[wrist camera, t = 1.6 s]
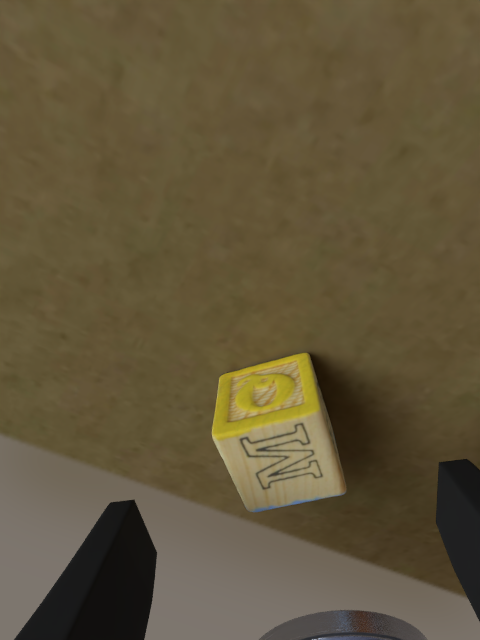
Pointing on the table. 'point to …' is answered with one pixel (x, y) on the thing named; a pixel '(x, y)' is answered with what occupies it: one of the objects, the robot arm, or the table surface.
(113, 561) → the robot arm
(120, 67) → the table surface
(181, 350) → the table surface
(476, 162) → the table surface
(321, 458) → the alphabet block
